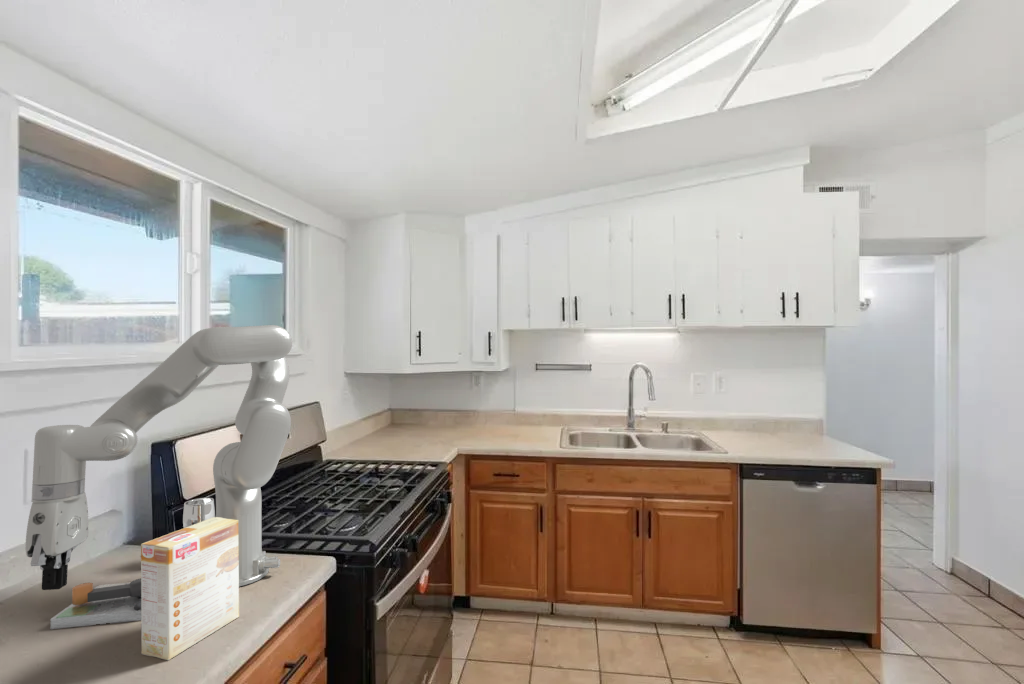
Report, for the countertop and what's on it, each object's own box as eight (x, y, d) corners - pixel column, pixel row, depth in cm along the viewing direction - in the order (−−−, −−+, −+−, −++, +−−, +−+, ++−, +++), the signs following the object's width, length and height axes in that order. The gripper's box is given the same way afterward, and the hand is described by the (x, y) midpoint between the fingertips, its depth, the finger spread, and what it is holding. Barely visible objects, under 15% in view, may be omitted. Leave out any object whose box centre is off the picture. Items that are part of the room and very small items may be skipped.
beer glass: (220, 556, 129) (220, 499, 130) (194, 567, 123) (194, 506, 123) (203, 552, 132) (203, 496, 133) (176, 562, 126) (176, 503, 126)
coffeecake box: (213, 611, 101) (213, 516, 102) (240, 617, 99) (240, 519, 100) (138, 654, 87) (138, 542, 87) (168, 661, 85) (168, 547, 85)
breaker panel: (177, 587, 112) (177, 577, 112) (142, 620, 98) (142, 608, 98) (97, 594, 109) (97, 584, 109) (50, 629, 96) (50, 617, 96)
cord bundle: (192, 583, 114) (192, 569, 114) (153, 622, 97) (153, 606, 97) (172, 585, 113) (172, 571, 113) (129, 625, 97) (129, 608, 97)
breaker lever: (153, 587, 107) (153, 573, 107) (146, 595, 103) (146, 580, 104) (77, 598, 103) (77, 583, 103) (68, 606, 99) (68, 591, 99)
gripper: (52, 500, 88) (47, 605, 87) (105, 480, 103) (101, 570, 102) (3, 501, 87) (-2, 608, 86) (64, 482, 102) (60, 572, 101)
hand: (54, 587), depth 94 cm, fingers closed
